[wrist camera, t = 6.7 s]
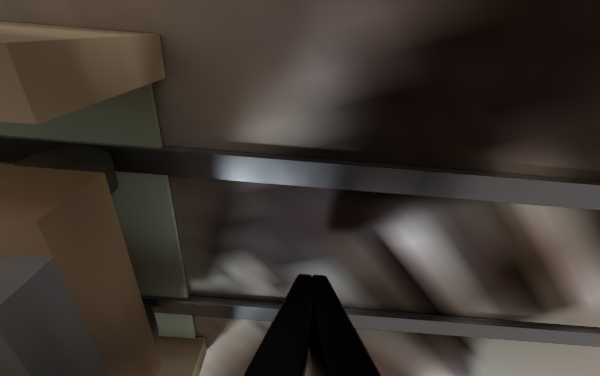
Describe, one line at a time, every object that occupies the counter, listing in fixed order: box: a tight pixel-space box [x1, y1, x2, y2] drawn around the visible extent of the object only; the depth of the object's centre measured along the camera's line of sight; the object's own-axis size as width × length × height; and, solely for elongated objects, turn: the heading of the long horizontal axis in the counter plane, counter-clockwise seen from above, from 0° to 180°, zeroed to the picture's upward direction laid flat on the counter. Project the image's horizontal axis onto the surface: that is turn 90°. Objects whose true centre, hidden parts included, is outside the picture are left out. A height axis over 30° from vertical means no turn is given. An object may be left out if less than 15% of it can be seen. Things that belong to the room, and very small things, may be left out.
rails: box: [0, 135, 600, 347], centre depth 10 cm, size 7×28×1 cm, turn 86°
